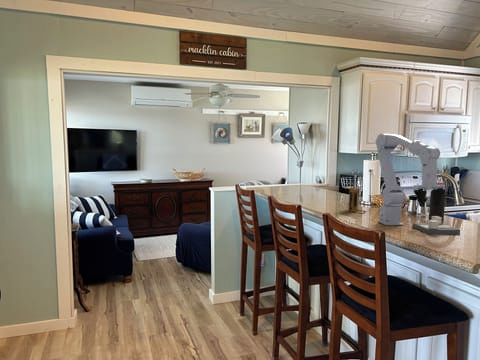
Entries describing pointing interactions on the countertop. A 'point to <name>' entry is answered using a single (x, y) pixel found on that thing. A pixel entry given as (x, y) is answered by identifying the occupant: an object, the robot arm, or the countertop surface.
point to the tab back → (436, 218)
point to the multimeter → (354, 198)
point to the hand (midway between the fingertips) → (429, 206)
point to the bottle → (437, 209)
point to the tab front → (433, 224)
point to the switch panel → (442, 229)
